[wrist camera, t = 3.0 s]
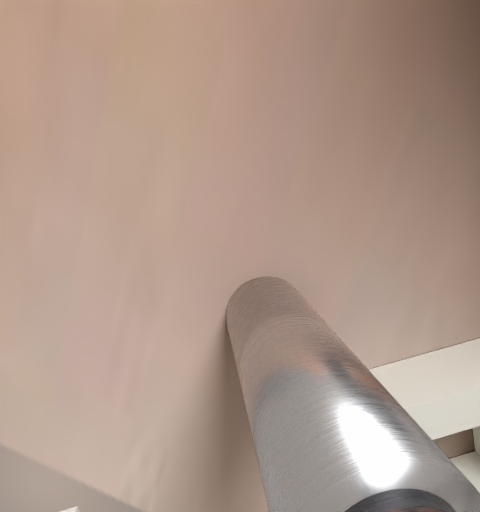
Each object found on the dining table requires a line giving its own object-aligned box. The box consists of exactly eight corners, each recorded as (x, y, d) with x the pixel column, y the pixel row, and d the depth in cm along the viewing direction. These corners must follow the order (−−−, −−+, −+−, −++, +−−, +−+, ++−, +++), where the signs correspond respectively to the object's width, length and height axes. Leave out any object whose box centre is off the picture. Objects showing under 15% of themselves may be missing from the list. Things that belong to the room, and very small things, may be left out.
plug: (217, 288, 21) (272, 539, 6) (295, 268, 21) (516, 464, 7) (236, 360, 22) (320, 720, 7) (310, 340, 22) (530, 647, 8)
